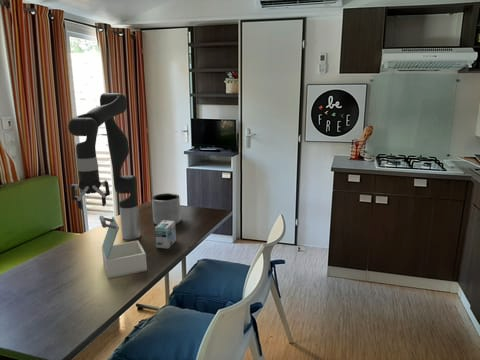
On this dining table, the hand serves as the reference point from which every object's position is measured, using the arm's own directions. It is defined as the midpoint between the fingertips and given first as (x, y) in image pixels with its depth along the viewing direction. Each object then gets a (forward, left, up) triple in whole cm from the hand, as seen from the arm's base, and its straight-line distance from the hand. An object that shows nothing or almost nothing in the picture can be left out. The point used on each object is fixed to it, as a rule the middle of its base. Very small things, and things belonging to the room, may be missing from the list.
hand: (92, 207), depth 148 cm
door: (0, +6, -14) cm, 16 cm away
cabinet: (0, +10, -29) cm, 31 cm away
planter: (-47, +42, -29) cm, 70 cm away
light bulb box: (-16, +33, -30) cm, 47 cm away
